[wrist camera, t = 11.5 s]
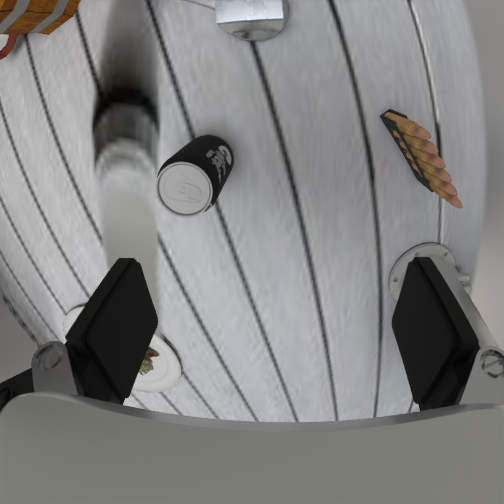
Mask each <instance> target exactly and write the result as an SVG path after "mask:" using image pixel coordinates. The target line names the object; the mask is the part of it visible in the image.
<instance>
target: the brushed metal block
mask: <svg viewBox="0 0 504 504" xmlns="http://www.w3.org/2000/svg"><path fill="white" fill-rule="evenodd" d="M215 12H216V23H217V24H218V25H219V26H220V27H221V28H223V29H224V30H225V31H226V32H227V33H228V34H229V33H240V32H254V31H276V30H282V27H283V10H282V0H215Z"/></svg>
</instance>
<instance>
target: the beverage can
mask: <svg viewBox="0 0 504 504" xmlns="http://www.w3.org/2000/svg"><path fill="white" fill-rule="evenodd" d="M232 166H233V155H232V152H231V149H230V148H229V146H228V145H227V144H226V143H225V142H224V141H223V140H221V139H220V138H218V137H215V136H209V135H205V136H200V137H197V138H195V139H194V140H192V141H191V142H190V143H188V144H187V145H186V146H184V147H183V148H182V149H181V150H179V151H178V152H177V153H176V154H174V155H173V156H172V157H171V158H169V159H168V160H167V161H166V162H165V163H164V164H163V165H162V167H161V168H160V170H159V173H158V176H157V180H156V195H157V198H158V200H159V202H160V204H161V205H162V206H163V207H164V208H165V209H166V210H167V211H168V212H169V213H171V214H173V215H175V216H178V217H184V218H189V217H194V216H197V215H199V214H201V213H203V212H205V211H207V210H208V209H209V208H211V207H212V206H213V204H214V203H215V202H216V200H217V198H218V196H219V194H220V192H221V190H222V188H223V186H224V184H225V182H226V180H227V178H228V176H229V174H230V172H231V169H232Z"/></svg>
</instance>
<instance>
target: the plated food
mask: <svg viewBox="0 0 504 504" xmlns="http://www.w3.org/2000/svg"><path fill="white" fill-rule="evenodd" d="M83 308H84V306H82V307H77V308H75V309H73V310H71V311H70V312H69V313H68V314H67V315H66V317H65V319H64V322H63V331H64V335H65V336H66V334H67V333H68V331H69V329H70V328H71V326H72V325H73V323H74V322H75V320H76V319H77V317H78V315H79V314H80V312H81V311H82V309H83ZM180 376H181V366H180V363H179V361H178V359H177V356H176V355H175V353H174V352H173V351H172V349H171V348H170V347H169V346H168V345H167V344H166V343H165V342H164V341H163V340H162V339H161V338H160V337H159V336H158V335H157V334H155V333H154V335H153V338H152V340H151V343H150V345H149V348H148V350H147V352H146V355H145V357H144V360H143V362H142V365H141V367H140V370H139V373H138V375H137V378H136V380H135V383H134V386H133V388H132V390H136V391H141V392H162V391H166V390H169V389H171V388H173V387H174V386H175V385H176V384H177V383H178V381H179V380H180Z"/></svg>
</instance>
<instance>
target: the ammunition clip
mask: <svg viewBox="0 0 504 504" xmlns="http://www.w3.org/2000/svg"><path fill="white" fill-rule="evenodd" d="M380 118H381V119H382V121H383V122H384V124H385V125H386V127H387V128H388V130H389V132H390V133H391V135H392V136H393V138H394V140H395V141H396V143H397V145H398V146H399V148H400V150H401V151H402V153H403V155H404V157H405V158H406V160H407V162H408V164H409V165H410V167H411V169H412V171H413V173H414V175H415V176H416V178H417V180H418V181H419V182H421V183H422V184H423V185H424V186H425V187H427V188H428V189H429V190H430V191H431V192H433V191H434V192H435V193H437V194H438V195H439V196H440V197H441V198H443V199H445V200H446V201H448V202H449V203H450V204H451V205H453V206H455V207H457V208H462V204H461V202H460V200H459V199H458V197H457V196H456V195H457V191H456V189H455V188H454V186H453V185H452V184H451V183H450V182H451V181H452V180H451V177H450V175H449V174H448V173H447V172H446V171H445V170H444V169H443V168H445V164H444V162H443V161H442V159H441V158H440V157H438V156H437V155H436V154H437V153H438V149H437V147H436V146H435V145H434V144H433V143H431V142H430V141H428V140H427V139H430V138H431V135H430V134H429V132H428V131H427V130H426V129H424V128H423V127H421V126H419V125H418V124H416V123H415V122H414V121H411V120H409V119H408V118H407V116H406V115H403V114H401V113H398V112H396V111H394V110H391V109H390V110H388V111H387V112H385V113H384V114H382V115H381V116H380Z"/></svg>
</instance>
